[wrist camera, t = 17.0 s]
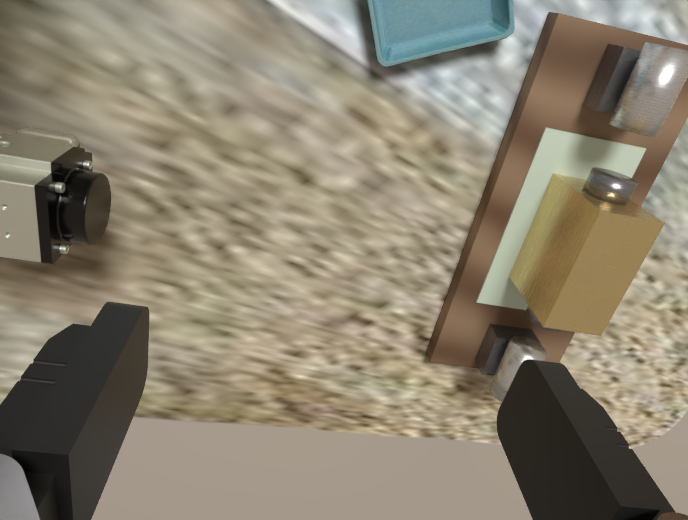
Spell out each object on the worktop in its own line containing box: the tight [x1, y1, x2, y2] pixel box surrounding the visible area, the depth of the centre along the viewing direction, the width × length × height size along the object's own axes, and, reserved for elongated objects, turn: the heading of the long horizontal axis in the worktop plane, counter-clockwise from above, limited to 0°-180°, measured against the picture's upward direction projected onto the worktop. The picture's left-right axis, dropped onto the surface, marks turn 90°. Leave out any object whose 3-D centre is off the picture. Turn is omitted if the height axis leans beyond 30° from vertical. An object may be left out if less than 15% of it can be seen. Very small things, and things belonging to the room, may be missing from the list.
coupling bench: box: [427, 12, 688, 402], centre depth 38 cm, size 29×12×6 cm, turn 168°
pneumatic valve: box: [0, 127, 111, 264], centre depth 31 cm, size 6×12×12 cm, turn 79°
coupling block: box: [509, 167, 665, 336], centre depth 37 cm, size 12×4×7 cm, turn 168°
